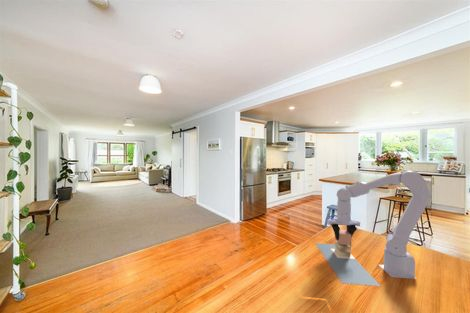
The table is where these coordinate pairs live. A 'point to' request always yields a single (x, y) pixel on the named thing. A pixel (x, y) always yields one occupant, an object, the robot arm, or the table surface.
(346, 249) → the maple cube
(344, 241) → the terracotta cube
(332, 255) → the board
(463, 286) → the table surface
